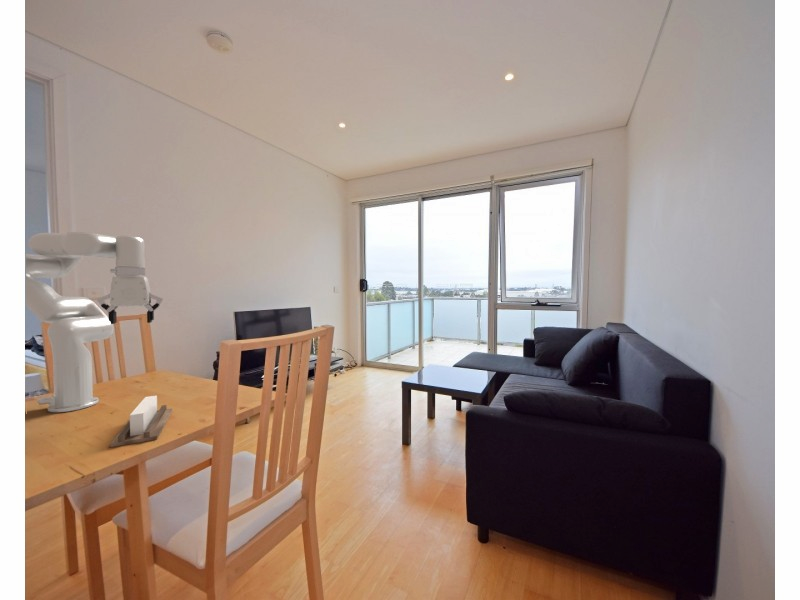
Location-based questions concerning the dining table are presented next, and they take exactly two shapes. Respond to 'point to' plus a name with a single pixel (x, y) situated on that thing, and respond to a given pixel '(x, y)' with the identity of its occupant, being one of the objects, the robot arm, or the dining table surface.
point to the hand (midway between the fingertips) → (132, 322)
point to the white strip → (143, 415)
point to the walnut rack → (149, 434)
